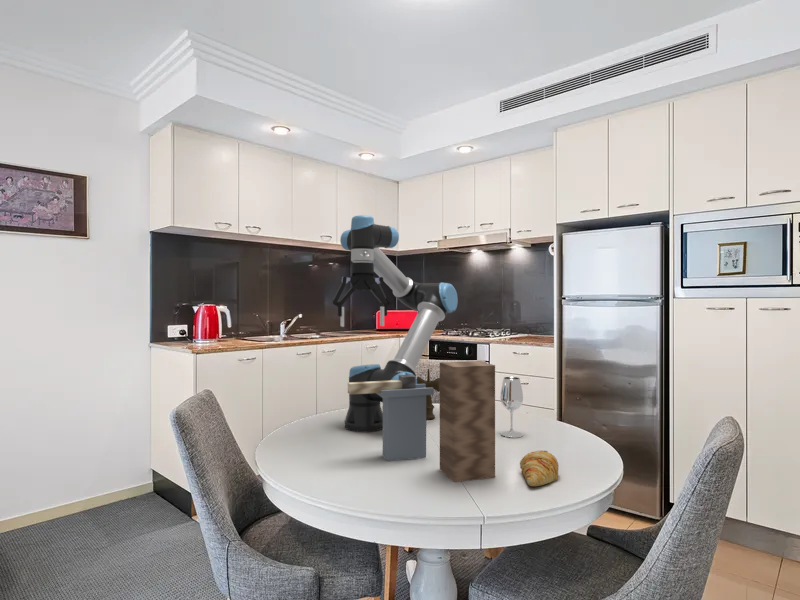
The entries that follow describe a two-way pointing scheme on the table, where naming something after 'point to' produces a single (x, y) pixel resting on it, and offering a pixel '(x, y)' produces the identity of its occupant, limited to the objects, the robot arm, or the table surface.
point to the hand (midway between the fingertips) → (362, 326)
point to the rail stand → (404, 422)
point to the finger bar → (382, 385)
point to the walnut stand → (467, 420)
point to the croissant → (539, 468)
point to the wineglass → (511, 401)
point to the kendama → (429, 405)
